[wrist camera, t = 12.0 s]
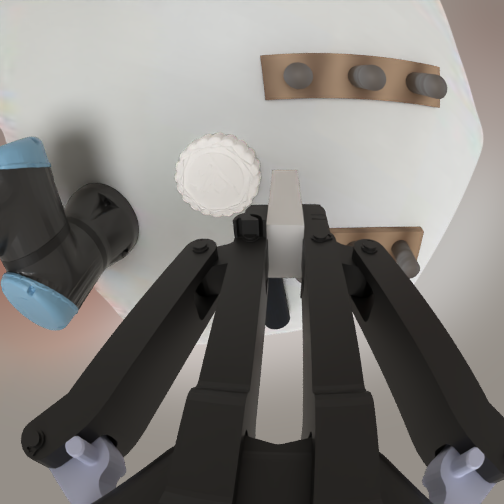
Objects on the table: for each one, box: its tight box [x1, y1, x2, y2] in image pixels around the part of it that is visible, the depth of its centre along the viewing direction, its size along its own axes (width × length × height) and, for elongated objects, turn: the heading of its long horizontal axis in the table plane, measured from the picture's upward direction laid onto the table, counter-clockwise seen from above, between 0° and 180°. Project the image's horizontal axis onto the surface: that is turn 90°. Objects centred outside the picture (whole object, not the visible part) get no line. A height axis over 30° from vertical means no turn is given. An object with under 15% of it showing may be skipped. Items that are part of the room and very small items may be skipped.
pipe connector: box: [265, 278, 290, 329], centre depth 50 cm, size 12×5×15 cm
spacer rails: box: [261, 53, 447, 282], centre depth 34 cm, size 24×32×8 cm
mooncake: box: [174, 132, 261, 217], centre depth 38 cm, size 12×12×4 cm
